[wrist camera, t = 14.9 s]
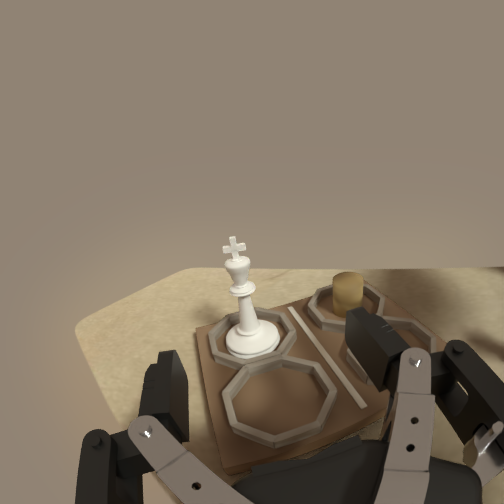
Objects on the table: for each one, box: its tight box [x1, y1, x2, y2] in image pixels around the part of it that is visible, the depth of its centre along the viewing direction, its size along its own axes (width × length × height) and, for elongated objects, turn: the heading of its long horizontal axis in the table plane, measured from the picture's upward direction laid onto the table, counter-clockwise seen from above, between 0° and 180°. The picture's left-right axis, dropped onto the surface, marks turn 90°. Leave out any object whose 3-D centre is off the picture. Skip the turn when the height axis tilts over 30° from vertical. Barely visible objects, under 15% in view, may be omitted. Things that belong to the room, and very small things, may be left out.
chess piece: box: [223, 236, 280, 359], centre depth 22 cm, size 5×5×10 cm
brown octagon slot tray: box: [196, 272, 447, 475], centre depth 21 cm, size 20×16×5 cm
